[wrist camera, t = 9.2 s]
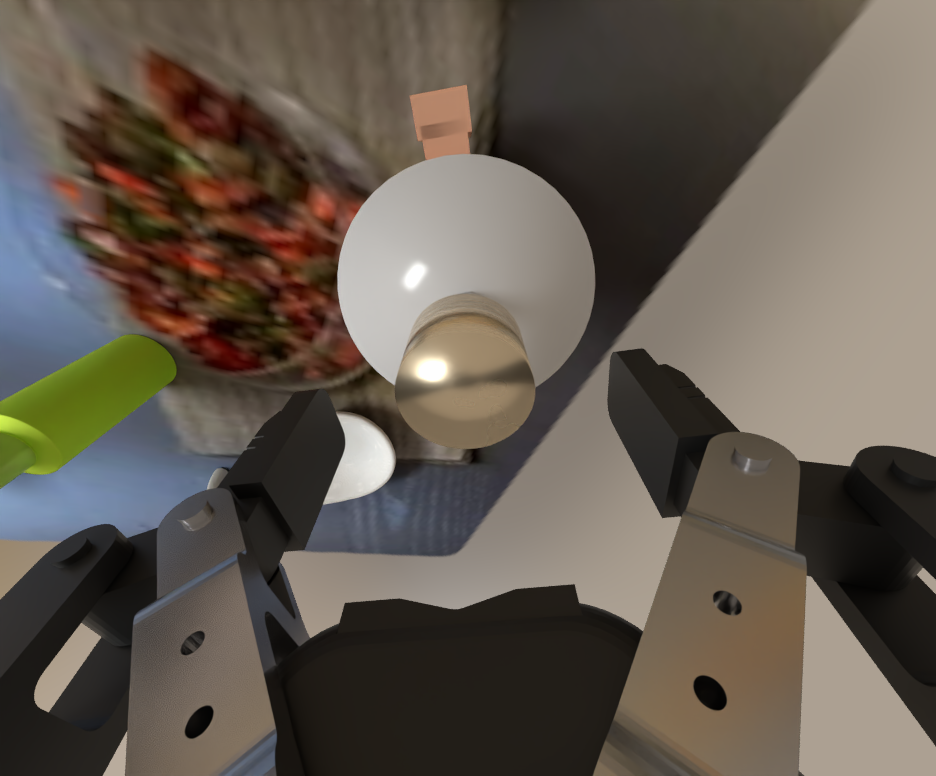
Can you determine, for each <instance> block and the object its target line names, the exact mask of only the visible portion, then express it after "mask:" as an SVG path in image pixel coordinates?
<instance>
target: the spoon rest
mask: <svg viewBox="0 0 936 776" xmlns="http://www.w3.org/2000/svg"><path fill="white" fill-rule="evenodd" d="M336 414H337V416H338V419H339V421H340V423H341V426H342V428H343V431H344V434H345V450H344V453H343V456H342V458H341V461H340V463H339V466H338V468H337V471H336V473H335V475H334V478H333V480H332V483H331V485H330V488H329V490H328V493H327V495H326V498H325V500H324V503H323V505H324V504H330V503H335V502H340V501H345V500H349V499H354V498H358V497H361V496H364V495H367V494H369V493H372V492H374V491H376V490H377V489H379V488H380V487H382V486H383V485H384V484H385V483H386V482H387V481H388V480H389V479H390V477H391V476H392V474H393V472H394V469H395V464H396V455H395V451H394V448H393V445H392V443H391V441H390V439H389V438H388V436H387V435H386V434H385V432H384V431H383V430H382V429H381V428H380V427H379V426H377V425H376V424H375V423H374V422H372V421H371V420H369V419H367V418H365V417H363V416H361V415H358V414H355V413H351V412H344V411H336ZM227 473H228V471H227V470H225V469H223V468H218V469H216V470H215V471H214V473H213V475H212V477H211V479H210V481H209V484H208V488H207V490H208V489H213V488H217V487H218V486H219V484H220V483H221V482H222V480H223V479H224V477H225V476H226V475H227Z"/></svg>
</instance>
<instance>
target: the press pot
mask: <svg viewBox="0 0 936 776" xmlns="http://www.w3.org/2000/svg"><path fill="white" fill-rule="evenodd" d="M410 100H411V105H412V111H413V116H414V122H415V127H416V133H417V138H418V141H421V142H423V146H424V152H425V157H426V161H423V162H420V163H418V164H416V165H413V166H411V167H409V168H406V169H404V170H403V171H401V172H400V173H398V174H396V175H395V176H393V177H392V178H390V179H389V180H387V181H386V182H385V183H384V184H383V185H382V186H380V187H379V188H378V189H377V190H376V191H375V192H374V193H373V194H372V195H371V196H370V197H369V198H368V200H367V201H366V202H365V203H364V204H363V205H362V207H361V208H360V210H359V211H358V213H357V215H356V216H355V218H354V219H353V221H352V223H351V225H350V227H349V230H348V232H347V234H346V236H345V239H344V243H343V246H342V250H341V253H340V259H339V266H338V294H339V301H340V307H341V311H342V314H343V318H344V321H345V324H346V326H347V328H348V331H349V333H350V336H351V337H352V339H353V341H354V343H355V344H356V346H357V348H358V349H359V351H360V352H361V353H362V355H363V356H364V357H365V359H366V360H367V361H368V362H369V363H370V364H371V366H372V367H373V368H374V369H375V370H376V371H377V372H378V373H379V374H381V375H382V376H383V377H384V378H385V379H387V380H388V381H389V382H391V383H392V384H394V385H395V381H396V377H397V373H398V370H399V367H400V364H401V361H402V358H403V354H404V351H405V348H406V345H407V342H408V339H409V336H410V332H411V329H412V327H413V325H414V323H415V321H416V319H417V318H418V316H419V315H420V314H421V313H422V311H423V310H425V309H426V308H427V307H428V306H429V305H431V304H432V303H433V302H435V301H437V300H439V299H441V298H444V297H447V296H450V295H455V294H461V293H464V292H469V293H472V294H476V295H481V296H484V297H487V298H490V299H492V300H494V301H496V302H497V303H499V304H501V305H502V306H503V307H504V308H506V309H507V310H508V311H509V312H510V314H511V315H512V316H513V317H514V319H515V320H516V322H517V324H518V326H519V329H520V332H521V335H522V339H523V342H524V346H525V349H526V353H527V356H528V360H529V363H530V367H531V370H532V374H533V377H534V382H535V387H537V386H538V385H540V384H541V383H543V382H544V381H545V380H547V379H548V378H549V377H550V376H551V375H553V374H554V373H555V372H556V371H557V370H558V369H559V368H560V367H561V366H562V365H563V364H564V362H565V361H566V360H567V359H568V358H569V356H570V355H571V354H572V352H573V351H574V349H575V348H576V346H577V345H578V343H579V341H580V339H581V337H582V335H583V333H584V331H585V329H586V326H587V323H588V321H589V318H590V314H591V310H592V306H593V302H594V292H595V267H594V262H593V256H592V251H591V247H590V244H589V241H588V238H587V235H586V233H585V231H584V229H583V227H582V225H581V223H580V220H579V218H578V217H577V215H576V214H575V212H574V211H573V210H572V208H571V207H570V205H569V204H568V202H567V201H566V200H565V199H564V198H563V197H562V196H561V195H560V194H559V193H558V192H557V191H556V189H555V188H553V187H552V186H551V185H550V184H548V183H547V182H546V181H545V180H543V179H542V178H541V177H539V176H538V175H536V174H534V173H532V172H531V171H529V170H527V169H526V168H524V167H522V166H519V165H517V164H514V163H511V162H509V161H506V160H504V159H500V158H495V157H491V156H486V155H477V154H470V149H469V141H468V138H471V134H472V127H471V118H470V110H469V101H468V92H467V85H463V86H458V87H452V88H447V89H442V90H436V91H431V92H426V93H420V94H415V95H410Z"/></svg>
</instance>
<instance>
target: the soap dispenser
mask: <svg viewBox="0 0 936 776" xmlns="http://www.w3.org/2000/svg"><path fill="white" fill-rule="evenodd" d="M176 372H177V369H176V364H175V361H174V359H173V358H172V356H171V355H170V353H169V352H168V351H167V350H166V349H165V348H164V347H162V346H161V345H160V344H158V343H157V342H155V341H154V340H152V339H149V338H147V337H144V336H140V335H133V334H130V335H124V336H121V337H119V338H118V339H116V340H114V341H112V342H110V343H108V344H106V345H105V346H103V347H101V348H99V349H97V350H95V351H93V352H92V353H90V354H88V355H86V356H84V357H82V358H80V359H78V360H77V361H75V362H73V363H71V364H69V365H67V366H65V367H64V368H62V369H60V370H58V371H56V372H54V373H52V374H51V375H49V376H47V377H45V378H43V379H41V380H39V381H38V382H36V383H34V384H32V385H30V386H28V387H26V388H25V389H23V390H21V391H19V392H17V393H15V394H13V395H12V396H10V397H8V398H6V399H4V400H2V401H0V489H1V488H2V487H4V486H5V485H6V484H8V483H9V482H11V481H12V480H13V479H15V478H16V477H17V476H19V475H20V474H22V473H23V472H24V473H29V474H39V475H41V474H50V473H53V472H55V471H57V470H58V469H60V468H61V467H62V466H64V465H65V464H66V463H67V462H69V461H70V460H71V459H72V458H74V457H75V456H76V455H78V454H79V453H80V452H81V451H83V450H84V449H85V448H87V447H88V446H89V445H90V444H92V443H93V442H94V441H96V440H97V439H98V438H99V437H101V436H102V435H103V434H105V433H106V432H107V431H108V430H110V429H111V428H112V427H114V426H115V425H116V424H117V423H119V422H120V421H121V420H123V419H124V418H125V417H126V416H128V415H129V414H130V413H131V412H133V411H134V410H135V409H137V408H138V407H139V406H140V405H142V404H143V403H144V402H146V401H147V400H148V399H149V398H151V397H152V396H153V395H155V394H156V393H157V392H158V391H160V390H161V389H162V388H164V387H165V386H166V385H167V384H169V383H170V382H171V381H172V380H173V379H174V378H175V376H176Z"/></svg>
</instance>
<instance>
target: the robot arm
mask: <svg viewBox="0 0 936 776" xmlns="http://www.w3.org/2000/svg"><path fill="white" fill-rule="evenodd" d="M608 411H609V416H610V419H611V421H612V423H613V425H614V427H615V429H616V431H617V433H618V435H619V437H620V439H621V441H622V442H623V444H624V446H625V448H626V450H627V452H628V454H629V456H630V458H631V459H632V462H633V463H634V465H635V467H636V469H637V471H638V473H639V475H640V476H641V479H642V481H643V482H644V484H645V486H646V488H647V490H648V492H649V493H650V496H651V498H652V500H653V501H654V503H655V505H656V507H657V509H658V511H659V513H660V515H661V516H662V518H666V517H677V516H681V521H680V523H679V526H678V529H677V532H676V535H675V538H674V541H673V544H672V547H671V550H670V553H669V556H668V559H667V562H666V565H665V568H664V571H663V574H662V577H661V580H660V583H659V586H658V589H657V592H656V595H655V598H654V601H653V604H652V607H651V610H650V613H649V616H648V619H647V622H646V625H645V628H644V631H642V630H640V629H639V628H638V627H636V626H635V625H633V624H631V623H629V622H628V621H626V620H624V619H622V618H621V617H619V616H617V615H614V614H612V613H610V612H608V611H606V610H603V609H599V608H597V607H593V606H590V605H586V604H581V603H579V602H578V597H577V593H576V589H575V585H574V584H573V585H561V586H549V587H536V588H524V589H515V590H512V591H509V592H507V593H504V594H501V595H498V596H496V597H493V598H490V599H487V600H484V601H481V602H479V603H476V604H473V605H470V606H467V607H465V608H461V609H455V610H454V609H447V608H442V607H438V606H433V605H428V604H423V603H418V602H413V601H409V600H404V599H388V600H376V601H365V602H364V601H363V602H352V603H345V605H344V609H343V612H342V616H341V620H340V623H339V624H337V625H334V626H332V627H330V628H328V629H326V630H324V631H322V632H320V633H319V634H317V635H315V636H314V637H312V638H310V637H309V635H308V633H307V631H306V628H305V626H304V623H303V621H302V618H301V615H300V612H299V609H298V606H297V603H296V600H295V598H294V595H293V592H292V589H291V586H290V583H289V581H288V578H287V575H286V572H285V569H284V567H283V566H282V564H281V563H280V560H281V558H282V555H283V553H284V552H287V551H297V550H304V549H305V547H306V544H307V542H308V539H309V537H310V535H311V532H312V530H313V527H314V525H315V522H316V520H317V517H318V515H319V512H320V510H321V507H322V505H323V503H324V500H325V498H326V495H327V493H328V490H329V488H330V485H331V483H332V480H333V478H334V475H335V473H336V471H337V468H338V466H339V463H340V461H341V458H342V456H343V453H344V450H345V434H344V431H343V428H342V426H341V423H340V421H339V419H338V416H337V414H336V411H335V409H334V407H333V404H332V402H331V399H330V397H329V395H328V393H327V392H326V391H325V390H324V389H316V390H308V391H300V392H295V393H294V394H293V395H292V397H291V398H290V400H289V401H288V402H287V404H286V405H285V407H284V408H283V409H282V411H279V412H278V413H277V414H276V415H274V416H273V417H272V418H271V419H269V420H268V421H267V422H266V423H264V425H263V426H262V427H261V429H260V430H259V431H258V433H257V434H256V435H255V439H252V441H251V442H250V444H249V445H248V446H247V450H244V452H243V453H242V454H241V456H240V457H239V458H238V460H237V461H236V463H235V464H234V465H233V467H232V468H231V469H230V471H229V472H228V473H227V475H226V476H225V477H224V479H223V480H222V482H221V483H220V484H219V486H218V487H217V488H213V489H208V490H205V491H202V492H199V493H197V494H195V495H193V496H191V497H189V498H187V499H186V500H184V501H182V502H181V503H180V504H178V505H177V506H176V507H174V508H173V509H172V510H171V511H170V512H169V513H168V514H167V515H166V516H165V518H164V519H163V520H162V522H161V523H160V525H159V527H158V528H156V529H153V530H150V531H147V532H144V533H141V534H138V535H135V536H132V537H129V538H126V537H125V536H124V535H123V534H122V533H121V532H120V531H119V530H118V529H117V528H116V527H115V526H113V525H110V524H101V525H97V526H93V527H90V528H87V529H85V530H82V531H80V532H78V533H76V534H74V535H72V536H71V537H69V538H67V539H66V540H64V541H62V542H61V543H59V544H58V545H57V546H55V547H54V548H53V549H51V550H50V551H49V552H48V553H47V554H45V555H44V556H43V557H42V558H41V559H40V560H39V561H38V562H37V563H36V564H35V565H34V566H33V567H32V568H31V569H30V570H29V571H28V572H27V573H26V574H25V575H24V576H23V577H22V578H21V579H20V580H19V581H18V582H17V583H16V584H15V585H14V586H13V587H12V588H11V589H10V591H9V592H7V593H6V594H5V596H4V597H3V598H2V599H1V600H0V776H103V774H104V772H105V770H106V768H107V767H108V765H109V763H110V761H111V759H112V757H113V755H114V754H115V752H116V750H117V748H118V746H119V744H120V743H121V741H122V739H123V737H124V735H125V733H126V732H127V748H126V769H125V776H804V775H803V774H802V773H801V772H799V748H800V723H801V699H802V674H803V650H804V649H803V648H804V625H805V600H806V576H811V577H812V578H813V579H814V581H815V582H816V583H817V585H818V586H819V587H820V589H821V590H822V591H823V593H824V594H825V596H826V597H827V598H828V600H829V601H830V602H831V604H832V605H833V606H834V608H835V609H836V611H837V612H838V613H839V615H840V616H841V617H842V618H843V620H844V622H845V623H846V624H847V626H848V627H849V628H850V630H851V631H852V632H853V634H854V635H855V637H856V638H857V639H858V641H859V642H860V643H861V645H862V646H863V648H864V649H865V650H866V652H867V653H868V654H869V656H870V657H871V658H872V660H873V661H874V663H875V664H876V665H877V667H878V668H879V669H880V671H881V672H882V673H883V675H884V676H885V678H887V680H888V682H889V683H890V684H891V686H892V687H893V688H894V690H895V691H896V693H897V694H898V695H899V697H900V698H901V699H902V701H903V702H904V703H905V705H906V706H907V708H908V709H909V710H910V711H911V713H912V714H913V716H914V717H915V719H916V720H917V721H918V723H919V724H920V725H921V727H922V728H923V729H924V731H925V732H926V734H927V735H928V736H929V738H930V739H931V740H932V741H933V743H934V745H935V746H936V594H935V593H934V592H933V591H932V590H931V589H930V588H929V587H928V586H927V585H926V584H925V583H924V582H923V581H922V580H921V579H920V578H919V577H918V576H917V574H918V573H919V571H920V570H921V569H922V568H925V569H926V570H927V571H928V572H929V573H930V574H931V575H932V576H933V577H934V578H935V579H936V457H934V456H931V455H928V454H926V453H922V452H919V451H915V450H911V449H907V448H902V447H895V446H873V447H868V448H865V449H863V450H861V451H860V452H859V453H858V454H857V455H856V457H855V459H854V460H853V462H852V464H851V466H841V465H832V464H823V463H814V462H805V461H798V460H797V458H796V457H795V456H794V455H793V454H792V453H791V452H790V451H789V450H788V449H787V448H785V447H784V446H782V445H780V444H779V443H777V442H775V441H773V440H771V439H769V438H766V437H763V436H760V435H756V434H751V433H745V432H740V431H739V430H738V429H737V428H736V427H735V426H734V425H733V424H732V423H731V422H730V421H729V420H728V418H727V417H726V416H725V415H724V414H723V413H722V412H721V411H720V410H719V409H718V408H717V407H716V406H715V405H714V404H713V403H712V402H711V401H710V400H709V399H708V398H705V395H704V394H703V392H702V391H701V390H700V389H699V388H698V387H697V388H696V387H695V384H694V383H693V382H692V381H691V380H690V379H689V378H688V377H687V376H686V375H685V374H684V373H683V372H681V371H679V370H677V369H675V368H673V367H671V366H669V365H667V364H663V365H658V364H657V363H656V362H655V361H654V360H653V359H652V357H651V356H650V355H649V354H648V353H647V352H646V351H645V350H644V349H634V350H627V351H619V352H613V353H612V355H611V359H610V371H609V386H608ZM80 623H83V624H84V625H85V626H87V627H88V628H90V629H91V630H93V631H94V632H95V633H97V634H98V635H100V636H101V639H100V640H99V642H98V643H97V644H96V646H95V647H94V649H93V650H92V652H91V653H90V654H89V656H88V657H87V659H86V660H85V662H84V663H83V664H82V666H81V667H80V669H79V670H78V671H77V673H76V674H75V676H74V677H73V679H72V680H71V682H70V683H69V684H68V686H67V687H66V689H65V690H64V692H63V693H62V694H61V696H60V697H59V699H58V700H57V701H56V703H55V705H54V706H53V707H52V709H51V710H50V712H49V713H48V712H46V711H44V710H42V709H40V708H39V707H38V706H37V705H36V703H35V701H34V691H35V687H36V685H37V682H38V680H39V678H40V676H41V675H42V673H43V672H44V671H45V669H46V668H47V667H48V665H49V664H50V663H51V661H52V660H53V659H54V657H55V656H56V655H57V654H58V652H59V651H60V650H61V648H62V647H63V646H64V644H65V643H66V642H67V640H68V639H69V638H70V637H71V635H72V634H73V633H74V631H75V630H76V629H77V627H78V626H79V625H80Z"/></svg>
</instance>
